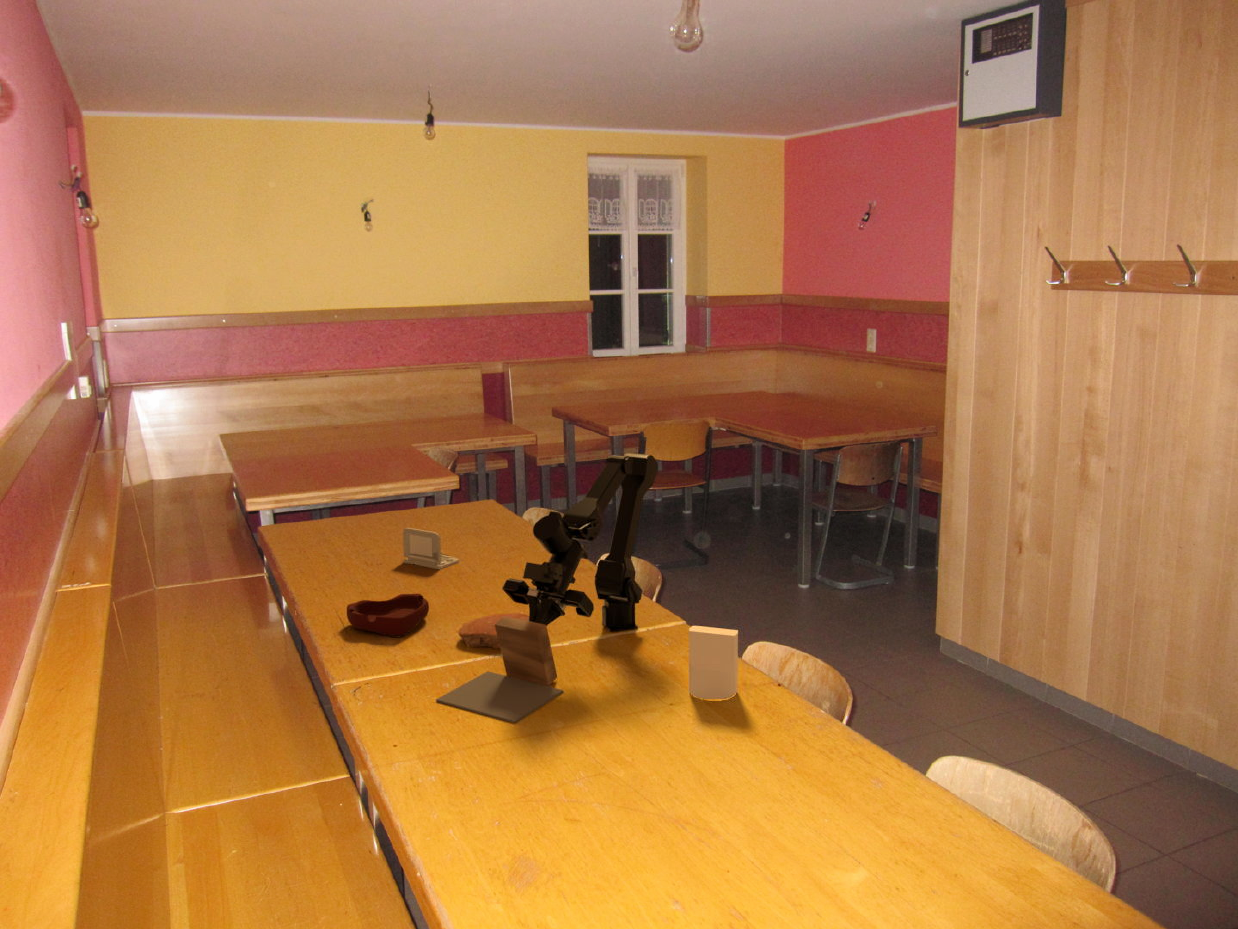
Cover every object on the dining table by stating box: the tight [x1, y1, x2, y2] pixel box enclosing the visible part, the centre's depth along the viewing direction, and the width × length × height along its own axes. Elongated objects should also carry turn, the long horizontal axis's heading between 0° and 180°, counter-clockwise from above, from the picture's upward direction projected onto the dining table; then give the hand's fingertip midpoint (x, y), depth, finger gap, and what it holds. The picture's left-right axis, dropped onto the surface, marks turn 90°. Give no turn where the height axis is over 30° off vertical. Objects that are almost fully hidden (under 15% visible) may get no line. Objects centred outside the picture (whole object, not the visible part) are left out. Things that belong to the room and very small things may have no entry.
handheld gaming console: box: [402, 527, 460, 570], centre depth 266 cm, size 13×9×10 cm
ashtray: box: [346, 593, 430, 638], centre depth 216 cm, size 18×16×5 cm
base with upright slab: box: [688, 625, 739, 700], centre depth 180 cm, size 9×9×12 cm
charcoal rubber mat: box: [435, 670, 564, 724], centre depth 180 cm, size 15×18×1 cm
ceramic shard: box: [458, 612, 529, 650], centre depth 209 cm, size 15×6×15 cm
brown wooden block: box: [495, 616, 558, 687], centre depth 186 cm, size 3×10×12 cm, turn 59°
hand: (530, 635), depth 186 cm, fingers closed
